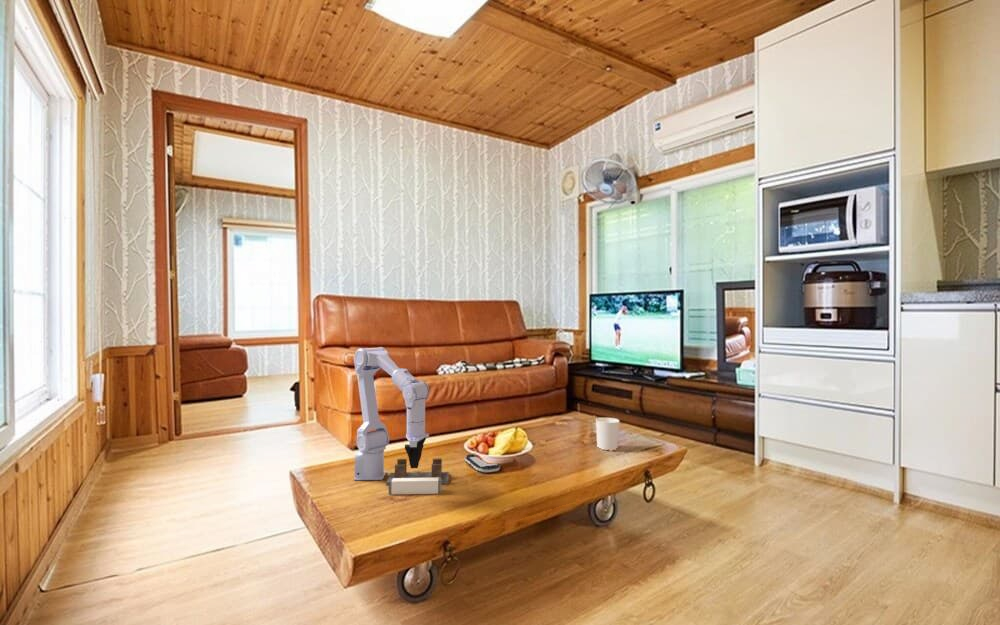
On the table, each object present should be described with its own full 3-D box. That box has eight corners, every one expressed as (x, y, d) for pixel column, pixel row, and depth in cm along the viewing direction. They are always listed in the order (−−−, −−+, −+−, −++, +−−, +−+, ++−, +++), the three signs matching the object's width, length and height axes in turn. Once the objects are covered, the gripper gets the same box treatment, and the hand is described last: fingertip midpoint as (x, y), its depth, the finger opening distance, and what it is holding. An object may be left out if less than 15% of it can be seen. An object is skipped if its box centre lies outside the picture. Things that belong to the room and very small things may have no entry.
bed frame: (386, 485, 154) (386, 466, 154) (390, 475, 163) (390, 458, 163) (448, 483, 156) (448, 465, 156) (448, 474, 165) (449, 457, 165)
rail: (388, 494, 146) (388, 481, 146) (390, 490, 149) (390, 478, 149) (440, 493, 148) (440, 480, 148) (441, 489, 151) (441, 477, 151)
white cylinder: (592, 445, 202) (592, 417, 202) (614, 445, 203) (614, 417, 203) (599, 452, 192) (599, 422, 192) (622, 451, 194) (623, 422, 194)
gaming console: (461, 460, 182) (461, 454, 182) (483, 457, 186) (483, 451, 186) (480, 476, 164) (480, 469, 164) (504, 473, 168) (504, 465, 168)
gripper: (426, 425, 142) (426, 471, 142) (430, 415, 156) (430, 456, 156) (403, 426, 141) (402, 471, 141) (408, 415, 155) (408, 457, 155)
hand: (415, 463), depth 148 cm, fingers open, 7 cm apart
